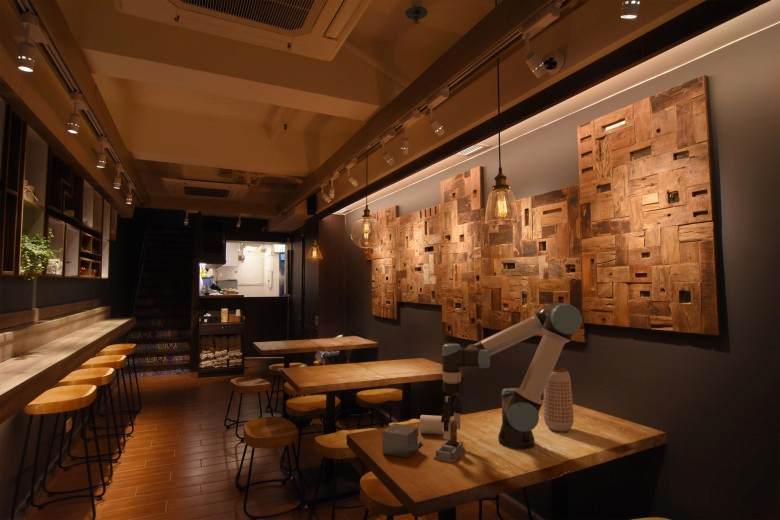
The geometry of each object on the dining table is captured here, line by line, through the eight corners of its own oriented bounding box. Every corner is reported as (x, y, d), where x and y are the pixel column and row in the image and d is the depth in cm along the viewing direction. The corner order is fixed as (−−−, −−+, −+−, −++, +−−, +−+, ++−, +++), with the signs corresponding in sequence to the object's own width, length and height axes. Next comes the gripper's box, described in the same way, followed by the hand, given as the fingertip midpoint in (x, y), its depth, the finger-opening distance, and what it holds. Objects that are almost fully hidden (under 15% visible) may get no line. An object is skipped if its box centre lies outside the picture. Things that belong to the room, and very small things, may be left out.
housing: (418, 448, 177) (418, 427, 177) (407, 458, 167) (407, 435, 167) (394, 444, 182) (394, 423, 182) (382, 453, 172) (382, 431, 172)
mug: (441, 437, 191) (441, 419, 192) (419, 435, 193) (419, 417, 194) (443, 428, 203) (443, 411, 203) (423, 427, 205) (422, 410, 205)
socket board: (464, 449, 176) (464, 442, 176) (453, 462, 163) (453, 454, 163) (446, 446, 180) (446, 439, 180) (433, 459, 166) (433, 451, 167)
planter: (543, 431, 198) (541, 370, 200) (544, 423, 210) (542, 366, 212) (574, 435, 193) (572, 372, 195) (573, 426, 205) (571, 367, 207)
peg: (458, 447, 175) (457, 420, 176) (455, 450, 172) (455, 422, 173) (449, 445, 177) (449, 419, 178) (446, 448, 174) (446, 421, 174)
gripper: (452, 375, 189) (452, 423, 188) (432, 386, 167) (433, 442, 165) (468, 376, 186) (469, 426, 184) (450, 388, 164) (451, 445, 162)
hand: (452, 433), depth 175 cm, fingers open, 13 cm apart
